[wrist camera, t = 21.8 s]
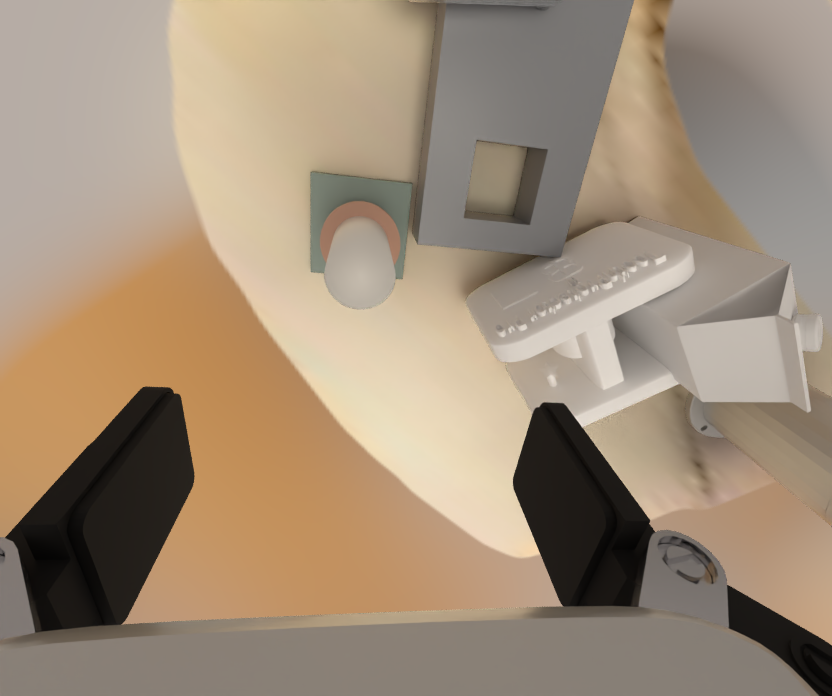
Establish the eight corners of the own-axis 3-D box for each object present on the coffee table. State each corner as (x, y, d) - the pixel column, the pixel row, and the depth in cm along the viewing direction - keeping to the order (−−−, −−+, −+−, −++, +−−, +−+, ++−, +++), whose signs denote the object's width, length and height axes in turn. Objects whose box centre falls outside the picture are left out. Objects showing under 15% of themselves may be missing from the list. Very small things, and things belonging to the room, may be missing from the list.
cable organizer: (497, 372, 42) (540, 449, 32) (456, 288, 37) (492, 347, 27) (633, 306, 40) (725, 366, 30) (610, 209, 35) (710, 240, 25)
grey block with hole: (607, -8, 29) (641, -27, 25) (541, 245, 37) (560, 257, 33) (442, -41, 27) (454, -68, 23) (412, 233, 35) (417, 244, 32)
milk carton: (593, 315, 41) (750, 441, 24) (567, 258, 38) (728, 359, 21) (658, 276, 40) (871, 381, 23) (638, 214, 37) (867, 284, 20)
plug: (398, 196, 33) (416, 229, 22) (392, 266, 36) (405, 326, 25) (326, 188, 32) (307, 219, 21) (324, 260, 35) (308, 320, 24)
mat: (411, 183, 33) (412, 183, 33) (401, 277, 37) (402, 279, 36) (311, 171, 32) (310, 172, 31) (311, 270, 36) (310, 272, 35)
